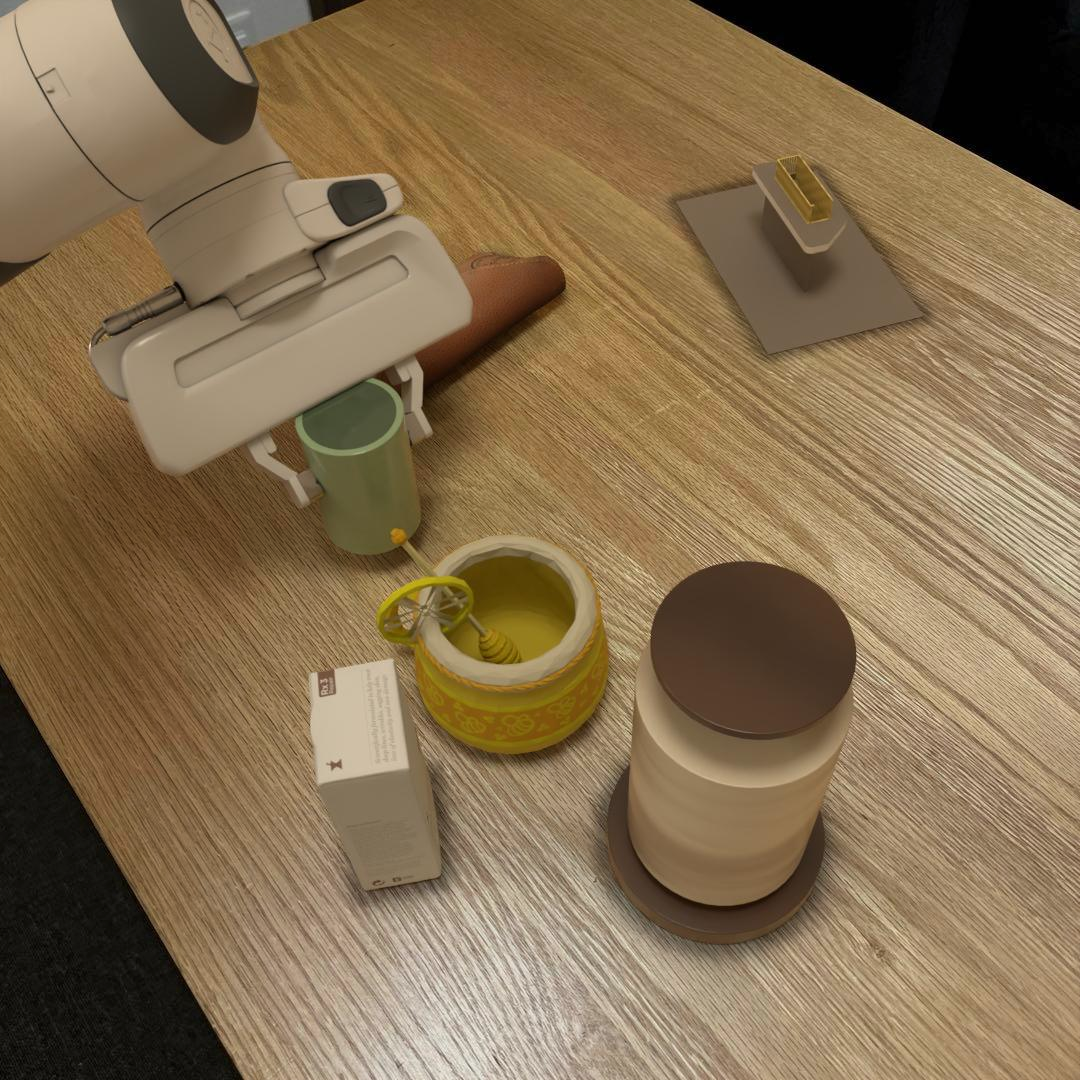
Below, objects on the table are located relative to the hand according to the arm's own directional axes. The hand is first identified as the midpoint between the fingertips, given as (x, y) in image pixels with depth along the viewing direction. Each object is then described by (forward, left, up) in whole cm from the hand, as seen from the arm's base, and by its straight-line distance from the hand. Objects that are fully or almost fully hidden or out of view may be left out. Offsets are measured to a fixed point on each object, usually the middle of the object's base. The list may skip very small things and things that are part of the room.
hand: (367, 471), depth 69 cm
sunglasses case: (+18, +1, -7) cm, 20 cm away
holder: (-16, -22, -7) cm, 28 cm away
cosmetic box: (-18, -6, -7) cm, 20 cm away
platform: (+31, -23, -7) cm, 40 cm away
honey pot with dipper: (-8, -9, -7) cm, 14 cm away
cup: (0, 0, -5) cm, 5 cm away
